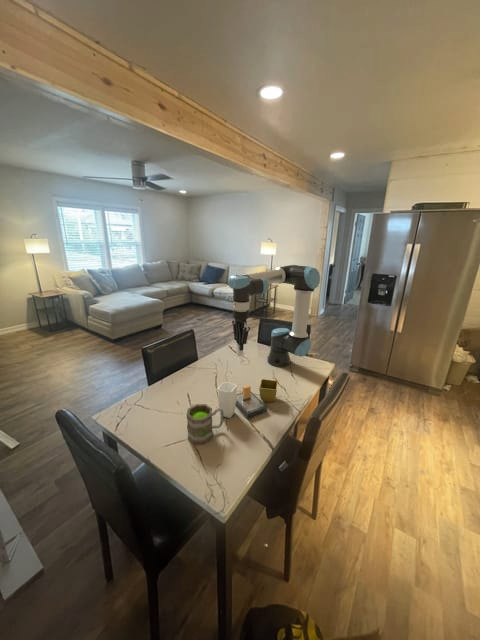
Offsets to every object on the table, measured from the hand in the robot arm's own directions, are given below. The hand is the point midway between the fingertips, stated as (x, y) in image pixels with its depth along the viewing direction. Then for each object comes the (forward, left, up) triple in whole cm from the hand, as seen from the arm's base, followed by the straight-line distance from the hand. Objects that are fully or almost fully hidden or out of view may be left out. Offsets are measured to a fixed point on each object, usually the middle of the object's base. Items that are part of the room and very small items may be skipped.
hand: (239, 355), depth 130 cm
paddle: (0, +7, -20) cm, 21 cm away
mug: (+26, +16, -24) cm, 39 cm away
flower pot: (-12, +9, -24) cm, 29 cm away
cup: (+12, +9, -24) cm, 28 cm away
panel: (0, +9, -24) cm, 26 cm away
